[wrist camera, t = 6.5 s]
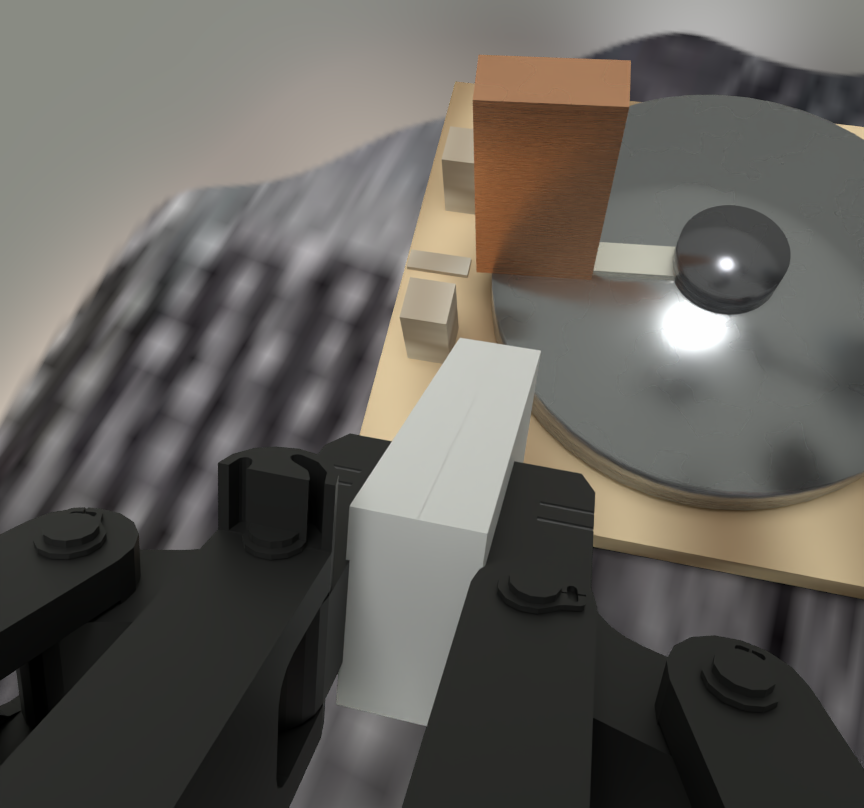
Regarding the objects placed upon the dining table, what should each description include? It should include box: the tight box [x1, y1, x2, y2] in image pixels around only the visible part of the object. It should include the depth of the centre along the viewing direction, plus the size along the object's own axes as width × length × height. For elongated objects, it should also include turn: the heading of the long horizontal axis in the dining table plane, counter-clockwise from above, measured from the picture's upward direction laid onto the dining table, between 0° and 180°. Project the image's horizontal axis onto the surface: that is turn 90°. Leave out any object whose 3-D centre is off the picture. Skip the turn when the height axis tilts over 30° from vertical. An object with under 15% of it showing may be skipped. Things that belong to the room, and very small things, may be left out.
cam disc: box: [473, 55, 864, 510], centre depth 24 cm, size 16×16×10 cm
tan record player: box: [360, 82, 864, 599], centre depth 28 cm, size 25×19×4 cm
